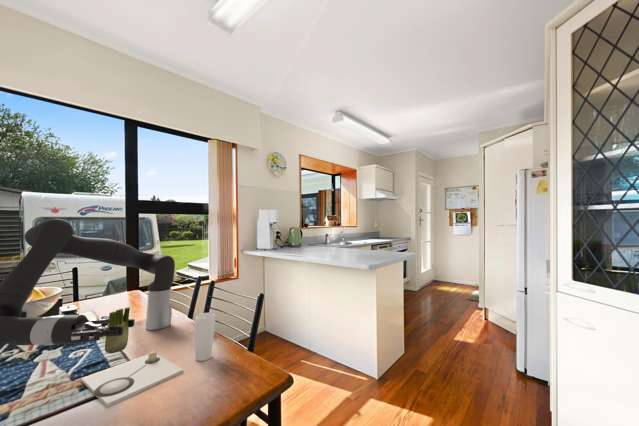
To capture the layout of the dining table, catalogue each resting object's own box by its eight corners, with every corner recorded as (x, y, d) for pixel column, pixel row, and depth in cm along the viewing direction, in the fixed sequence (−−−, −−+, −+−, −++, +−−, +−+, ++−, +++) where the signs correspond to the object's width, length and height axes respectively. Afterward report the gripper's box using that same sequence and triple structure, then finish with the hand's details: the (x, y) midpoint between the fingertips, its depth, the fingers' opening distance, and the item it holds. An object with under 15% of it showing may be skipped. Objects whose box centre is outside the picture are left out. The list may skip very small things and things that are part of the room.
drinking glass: (217, 355, 94) (219, 313, 95) (203, 364, 88) (206, 319, 89) (202, 352, 97) (204, 311, 98) (188, 360, 90) (190, 317, 91)
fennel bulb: (126, 345, 78) (129, 305, 78) (130, 350, 75) (134, 309, 75) (101, 351, 73) (105, 309, 74) (105, 358, 70) (109, 313, 71)
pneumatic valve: (59, 339, 105) (62, 309, 105) (56, 331, 112) (59, 303, 113) (78, 335, 109) (80, 306, 110) (74, 328, 116) (76, 301, 117)
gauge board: (153, 354, 94) (153, 345, 94) (183, 372, 83) (183, 361, 83) (78, 381, 77) (79, 370, 77) (104, 408, 66) (105, 394, 66)
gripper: (39, 325, 65) (115, 322, 68) (79, 308, 79) (141, 306, 82) (36, 356, 64) (113, 351, 68) (77, 333, 79) (139, 330, 82)
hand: (128, 326), depth 75 cm, fingers closed on fennel bulb, 5 cm apart
